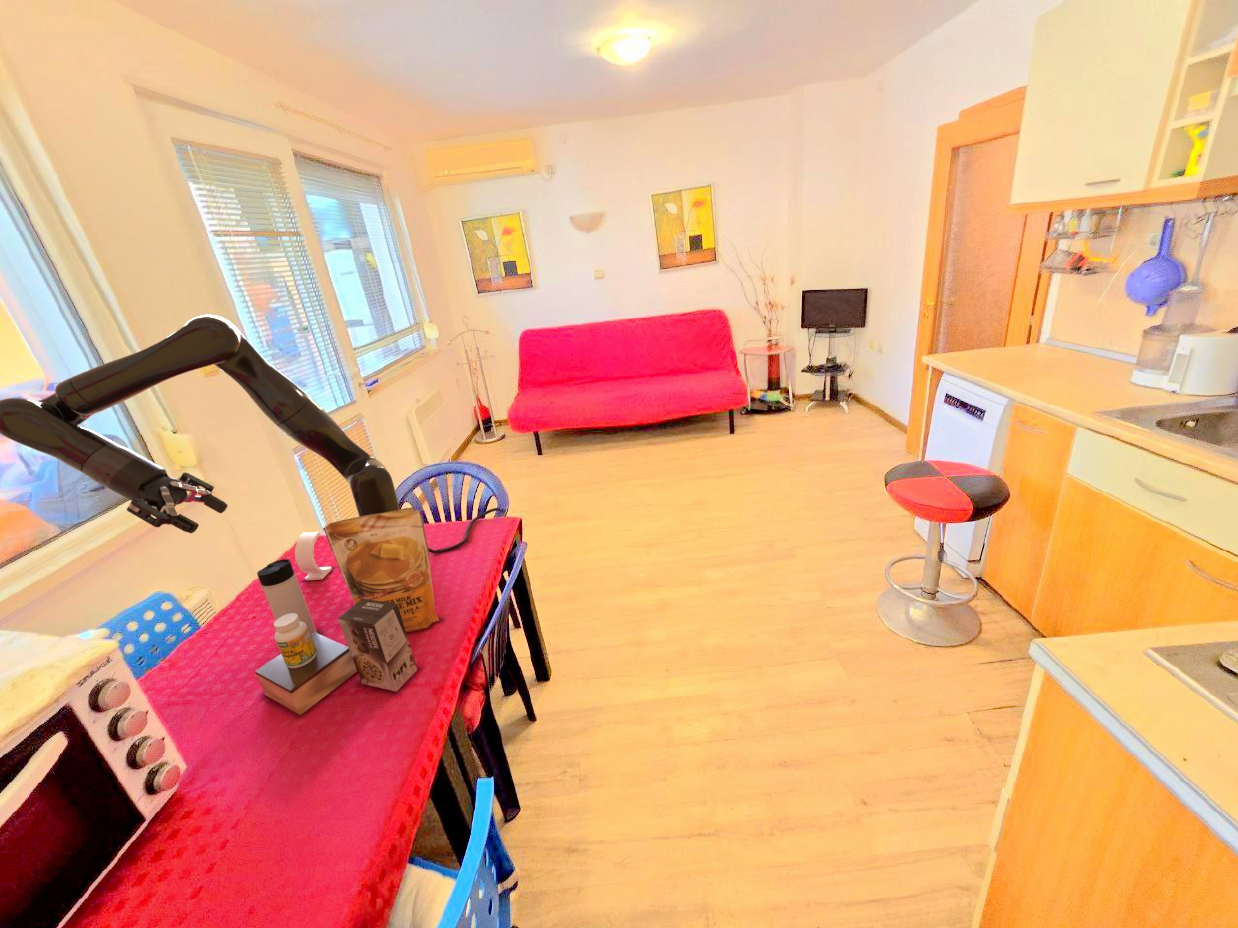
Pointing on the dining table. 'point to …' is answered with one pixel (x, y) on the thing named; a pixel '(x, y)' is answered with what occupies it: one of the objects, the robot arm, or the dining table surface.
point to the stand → (307, 675)
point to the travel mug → (285, 592)
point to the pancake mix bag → (387, 562)
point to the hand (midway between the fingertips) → (211, 519)
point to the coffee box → (378, 644)
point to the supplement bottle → (294, 641)
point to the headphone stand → (309, 557)
